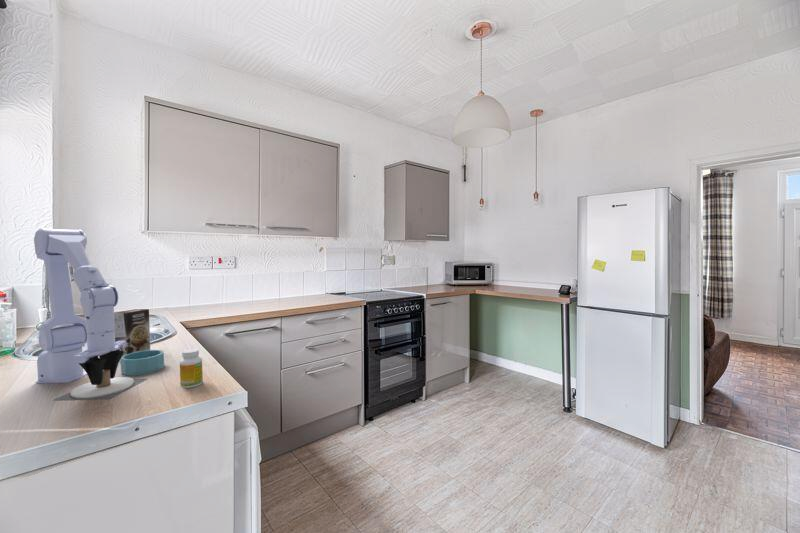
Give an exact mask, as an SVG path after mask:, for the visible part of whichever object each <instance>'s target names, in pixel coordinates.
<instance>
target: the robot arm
mask: <svg viewBox="0 0 800 533" xmlns="http://www.w3.org/2000/svg"><path fill="white" fill-rule="evenodd" d="M87 242H88V240H87V235H86V233H85V232H84V231H83V229H55V228H44V227H40V228H38V229H37V230H36V231H35V234H34V237H33V244H34V250H35V254H36V258H37V259H38V260H39V259H40V260H42V261H43V263H44V266H45V267H44V268H45V273H46V274H45V275H46V281H47V289H48V290H47V291H48V298H49V304H50V313H51V316H50V318H48V319H46V320H45V321H44V322H43V323H41V324H40V326H39V329H38V330H39V334H38V343H39V346H40V348H41V349H42V350H43V351H42V352H40V354H39V355H38V357H37V361H36V364H37V365H36V366H37V367H36V368H37V380H36V381H34V382H35V384H42V383H43V384H45V383H46V384H48V383H49V384H50V383H52V384H53V383H70V382H73V381H75V380H77V379H80V378H82V377H85V376H87V377H88V379H89V381H90V382H91V384H92V385H100V384H102V376H103V370H105V369H110V378H111V379H113V378H115V377H116V374H117V370H118V367H119V363H120V362H121V360H120V359H121V357H122V356H123V354H124V351H123V350H118V349H120V348H125V347H126V341H117V342H115V324H114V313H115V309H114V307H116V306H117V305H118V304H119V292H118V291H117V288H116V287H115V285H114V286H113V285H111V283H107V282H106V280H105V279H104V277H103V275H102V273H101V271H100V270H99V268H97V267H96V266H93V265H91V262H90V260H89V258H88V255H87V253H86V246H87V244H88V243H87ZM69 265H70V267H72V269H73V270H74V271H73V272H72V275H71V276H72V279H73V281H74V283H75V285H76V287H77V288H78V290H79V292H80V298H79V301H80V302H79V303H80V306H81V307H82V312H83V313H82V314H83V316H84V317H85V318H83V317H81V316H79V315H77V314H75V308H74V300H73V292H72V285H71V284H72V282H71V277H70V270H69ZM64 325H66V326H64ZM58 326H59V327H58ZM86 344H87V345H86ZM85 346H87V349H85V350H84V351H83V347H85Z"/></svg>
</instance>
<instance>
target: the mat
mask: <svg viewBox="0 0 800 533" xmlns="http://www.w3.org/2000/svg"><path fill="white" fill-rule="evenodd" d="M133 379H134V384H133V385H132V386H131V387H129V388H127V389H125V390H123V391H120V392H117V393H114V394H110V395H106V396H101V397H95V398H87V399H77V398H73V397H71V391H70V392H67V393H65V394H63V395H61V396H59V397H56V398H54V399H53V401H81V400H82V401H83V400H84V401H85V400H86V401H87V400H88V401H89V400H91V401H93V400H94V401H95V400H111V399H113V398H115V397H116V396H119V395H120V394H122V393H125V392H126V391H128V390H131V388H133V387H134V388H135V387H136V386H137V385H139V384H141V383H142V382H144V381H147V380H148V378H133Z"/></svg>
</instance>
